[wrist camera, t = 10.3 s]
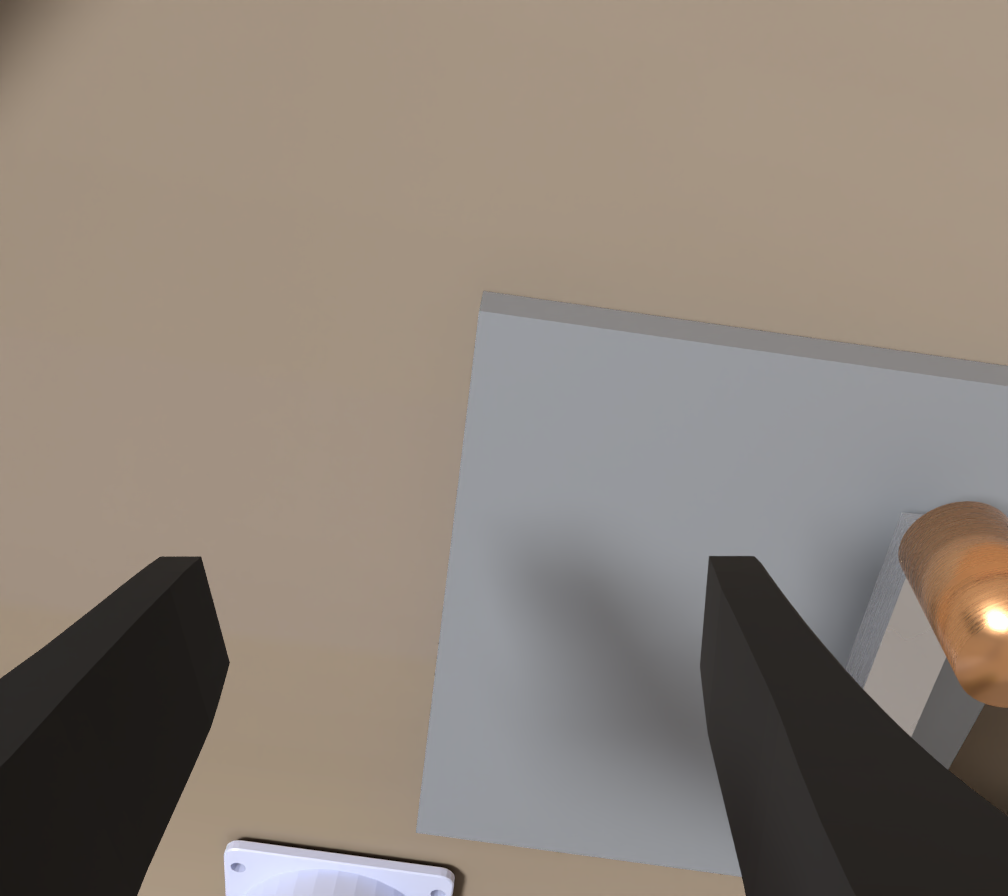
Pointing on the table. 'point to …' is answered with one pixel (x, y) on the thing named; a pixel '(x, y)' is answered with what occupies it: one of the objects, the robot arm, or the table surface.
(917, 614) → the lever
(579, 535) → the base
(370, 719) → the table surface
